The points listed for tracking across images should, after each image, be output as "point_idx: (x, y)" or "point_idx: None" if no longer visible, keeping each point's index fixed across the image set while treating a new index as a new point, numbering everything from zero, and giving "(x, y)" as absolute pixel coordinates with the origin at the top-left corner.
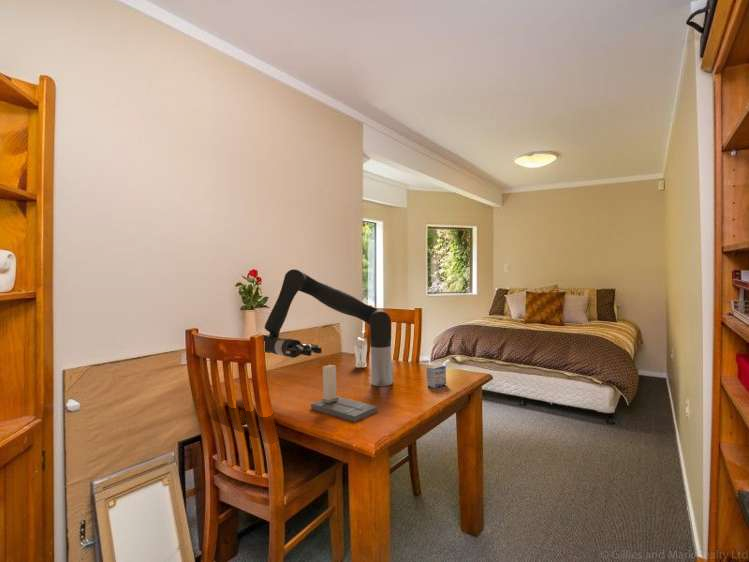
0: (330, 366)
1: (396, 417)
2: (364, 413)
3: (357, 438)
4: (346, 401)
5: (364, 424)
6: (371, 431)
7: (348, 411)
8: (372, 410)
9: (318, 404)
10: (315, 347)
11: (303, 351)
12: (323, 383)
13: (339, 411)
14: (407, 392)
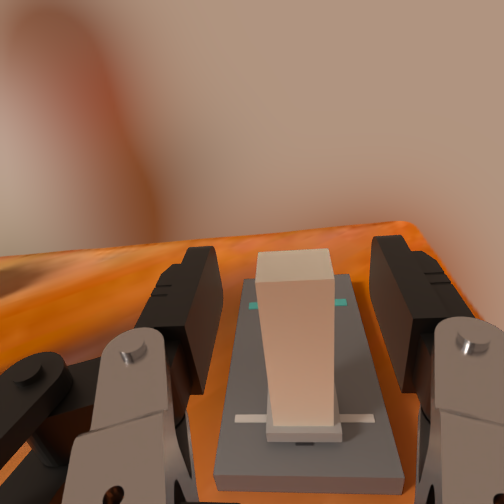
0: (295, 256)
1: (254, 254)
2: None
3: (407, 243)
4: (259, 364)
5: (340, 270)
6: (357, 246)
7: (337, 300)
8: None
9: (376, 434)
10: (194, 297)
11: (465, 316)
12: (333, 363)
13: (358, 319)
14: (32, 324)
